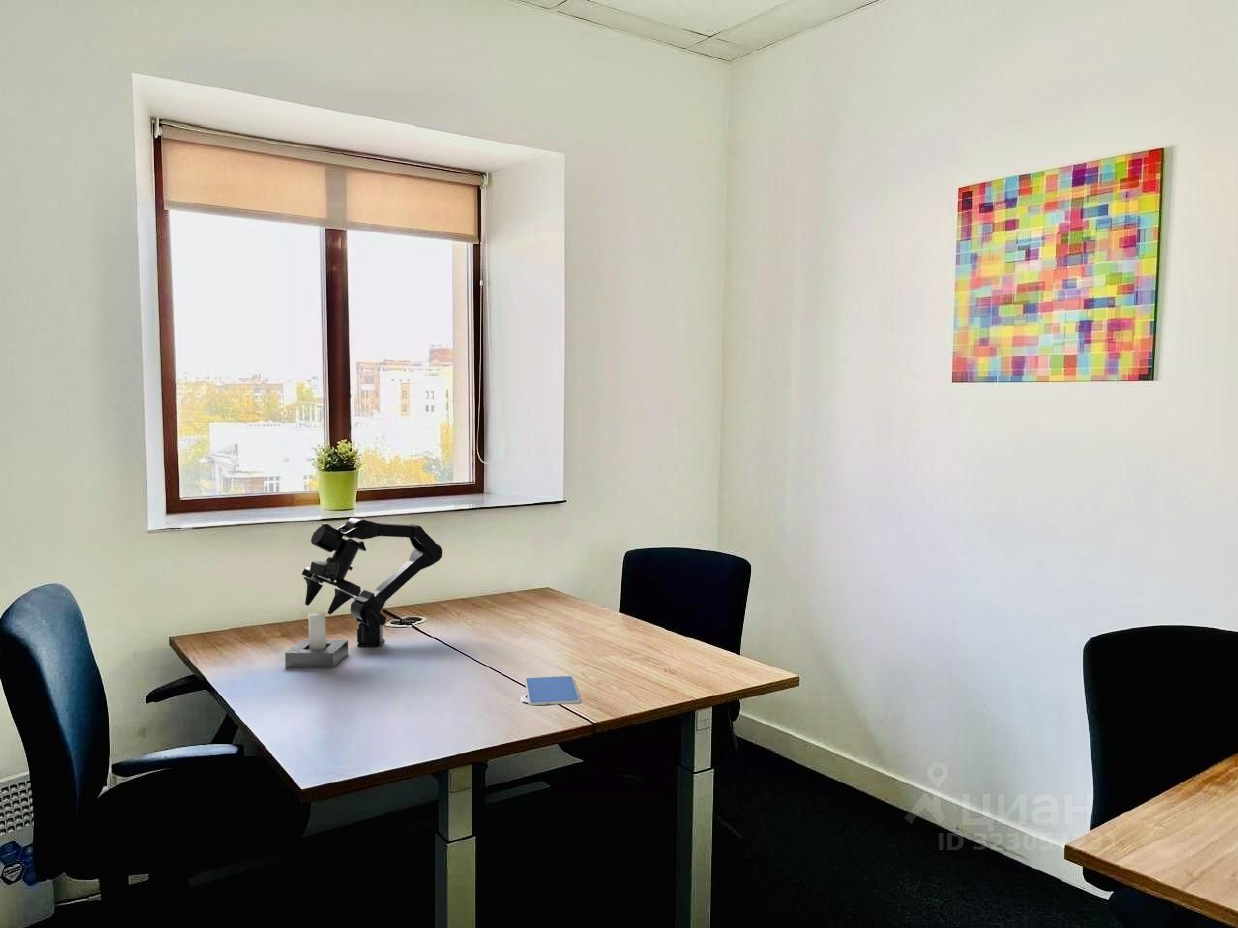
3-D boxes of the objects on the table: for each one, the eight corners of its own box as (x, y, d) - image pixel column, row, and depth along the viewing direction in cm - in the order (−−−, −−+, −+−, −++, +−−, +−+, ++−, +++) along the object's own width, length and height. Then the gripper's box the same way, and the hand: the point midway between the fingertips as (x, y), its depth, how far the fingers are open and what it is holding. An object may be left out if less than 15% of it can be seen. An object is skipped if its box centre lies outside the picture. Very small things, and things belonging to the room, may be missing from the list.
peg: (327, 658, 257) (326, 612, 256) (324, 662, 253) (323, 616, 252) (311, 658, 256) (310, 612, 255) (307, 663, 252) (306, 616, 251)
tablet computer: (581, 705, 221) (581, 700, 221) (528, 708, 219) (528, 702, 219) (572, 680, 240) (572, 675, 240) (524, 682, 238) (524, 677, 238)
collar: (348, 653, 261) (348, 640, 261) (333, 667, 248) (333, 653, 248) (302, 653, 261) (302, 639, 261) (285, 667, 248) (285, 652, 248)
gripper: (301, 541, 262) (275, 592, 257) (347, 557, 252) (321, 610, 248) (327, 554, 271) (302, 604, 266) (372, 570, 261) (347, 621, 257)
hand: (317, 609), depth 259 cm, fingers open, 9 cm apart
